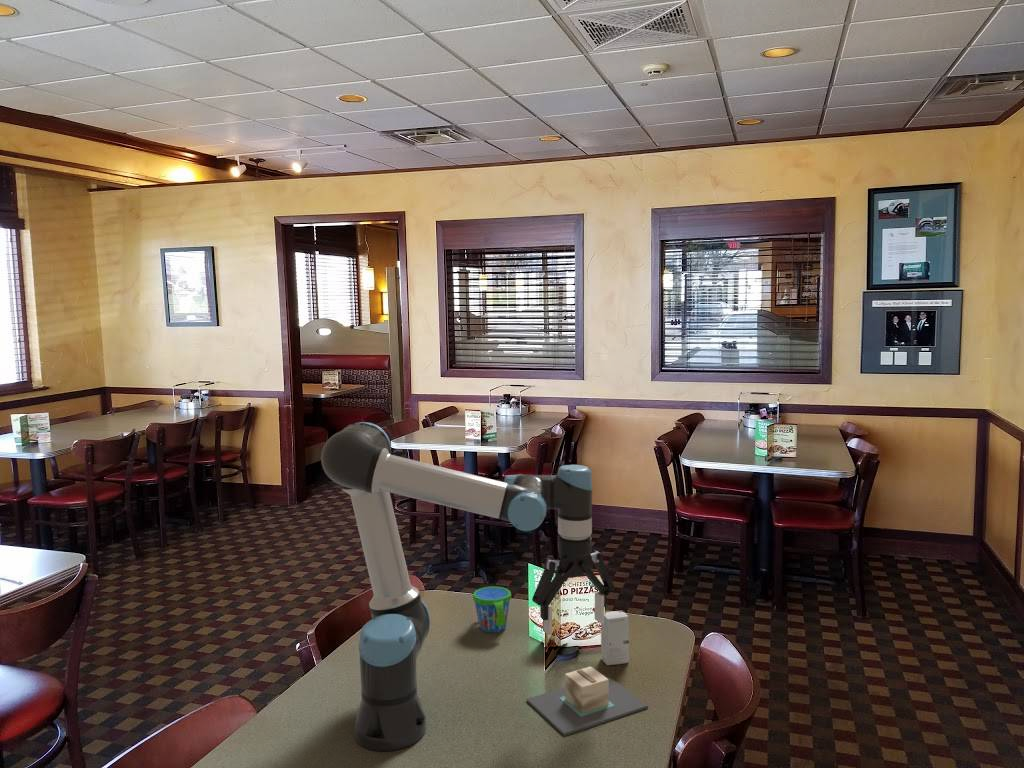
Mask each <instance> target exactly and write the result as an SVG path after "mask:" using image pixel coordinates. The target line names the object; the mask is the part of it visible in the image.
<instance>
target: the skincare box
mask: <svg viewBox="0 0 1024 768" xmlns="http://www.w3.org/2000/svg"><path fill="white" fill-rule="evenodd" d="M629 639H630V617H629V615H628V614H627V613H626V612H625V611H624V610H615V611H613V610H612V611H607V612H605V611H604V623H600V643H601V644H600V658H601V660H602V661H603V662H604V664H605V666H611V665H612V666H614V665H621V664H623V665H624V664H628V663H629V661H630V660H629V657H630V656H629V655H630V652H629V651H630V650H629V649H630V641H629Z"/></svg>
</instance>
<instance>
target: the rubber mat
mask: <svg viewBox="0 0 1024 768" xmlns="http://www.w3.org/2000/svg"><path fill="white" fill-rule="evenodd" d="M604 676H605V677H606V678H608V679H609V705H607V706H604V707H601V708H598V709H595V710H592V711H589V712H586V713H581V712H580V711H579V710H578V709H577V708H575V707H574V706H573V705H572V704H571V703H569V702H568V701H567V700H566V699H565V686H564V687H561V688H559V689H555V690H554V689H553V690H552V691H548V692H545V693H542V694H538V695H534V696H531V697H528V698H526V702H527V703H528V704H529V705H530V706H531V707H532V708H533V709H535V711H537V713H538V714H540V715H541V716H542V717H543V718H544V719H545V720H546V721H548V722H549V724H551V725H552V726H553V727H554V728H555V729H556V730H557V731H558V733H560V734H562V735H563V737H565V736H568V735H571V734H575V733H578V732H581V731H583V730H587V729H590V728H592V727H595V726H598V725H601V724H604V723H608V722H610V721H613V720H616V719H620V718H623V717H626V716H628V715H631V714H634V713H637V712H641V711H643V710H646V709H648V708H649V705H648V704H647V703H645V702H644V701H643V700H641V699H640V698H638V697H637V696H636V695H635V694H633V693H631V692H630V691H629V690H627V689H626V688H624V687H623V686H622V685H620V683H618V682H617V681H616V680H614V679H613V678H611V677H610V676H608V675H607V674H605V675H604Z"/></svg>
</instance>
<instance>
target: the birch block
mask: <svg viewBox="0 0 1024 768" xmlns="http://www.w3.org/2000/svg"><path fill="white" fill-rule="evenodd" d="M564 687H565V699H566V700H567V701H568V702H569V703H571V704H572V705H573V706H574V707H575V708H577V709H578V710H579V711H580V712H581V713H586V712H589V711H592V710H595V709H598V708H601V707H604V706H607V705H609V679H608V678H606V677H605V675H603V674H602V673H601V672H599V671H598V670H596V669H595V668H594V667H592V666H587V667H583V668H580V669H577V670H573V671H571V672H566V673H565V674H564Z"/></svg>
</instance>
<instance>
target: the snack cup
mask: <svg viewBox="0 0 1024 768" xmlns="http://www.w3.org/2000/svg"><path fill="white" fill-rule="evenodd" d="M472 598H473V601H474V604H475V610H476V616H477V621H478V625H479V628H480V629H481V630H482V631H483V632H484V633H499V632H502V631H503V630H505V629H506V628H507V623H508V618H509V617H508V616H509V608H510V602H511V601H510V600H511V598H512V593H511V591H510V590H509V589H508V588H505V587H502V586H485V587H481V588H478V589H476V590H475V591H474V592H473V594H472ZM501 630H502V631H501Z"/></svg>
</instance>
